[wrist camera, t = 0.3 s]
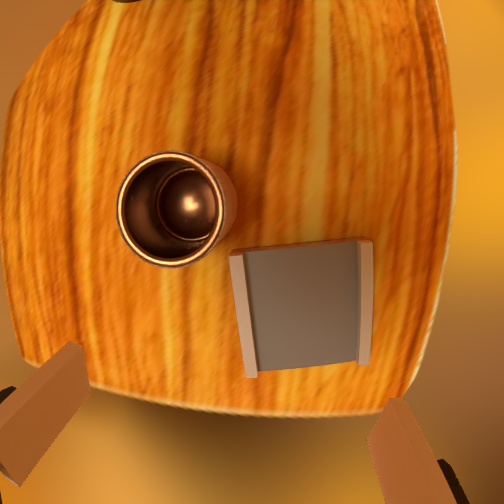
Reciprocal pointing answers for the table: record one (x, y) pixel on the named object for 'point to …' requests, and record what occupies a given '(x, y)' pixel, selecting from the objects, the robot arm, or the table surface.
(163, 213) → the planter
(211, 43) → the table surface
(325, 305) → the grey square tray
